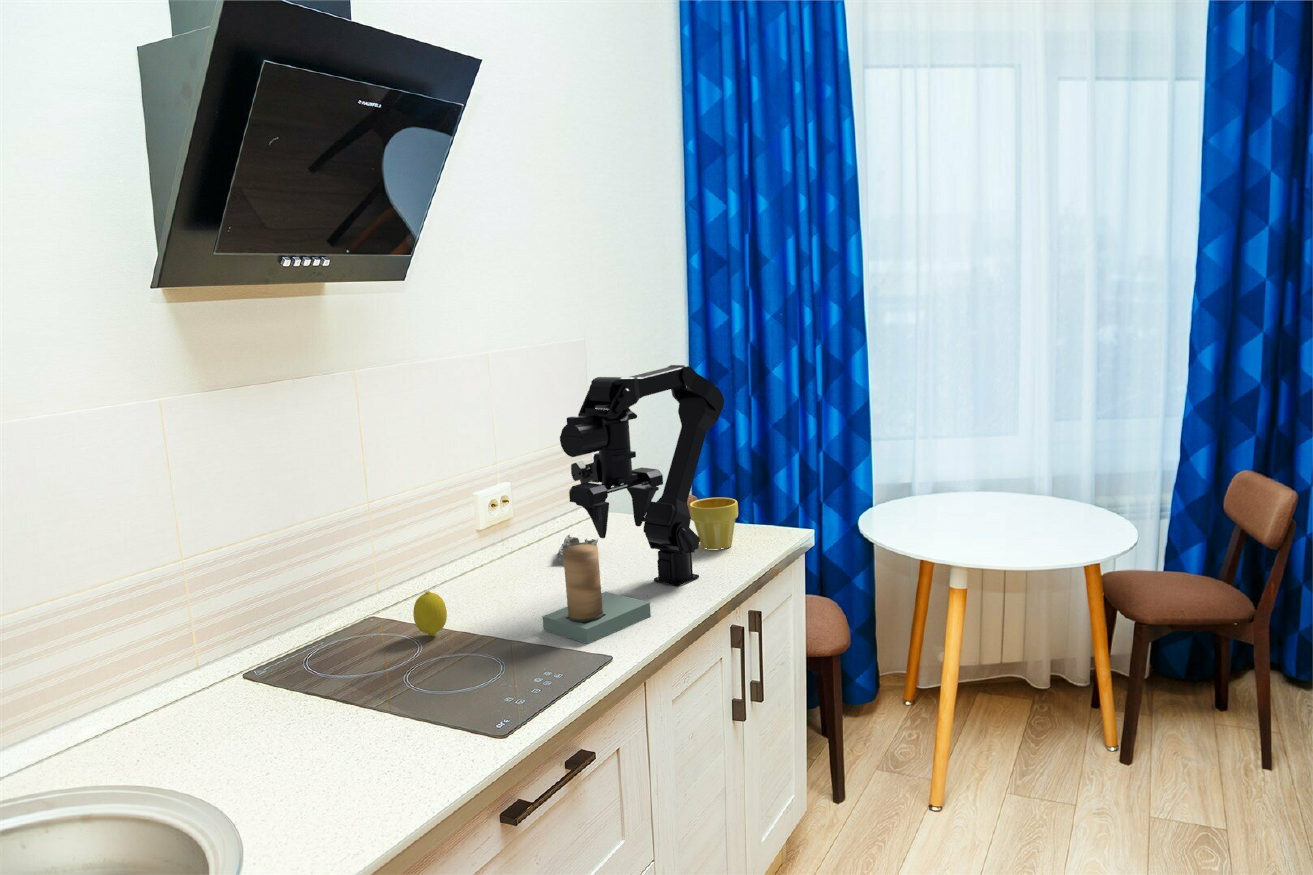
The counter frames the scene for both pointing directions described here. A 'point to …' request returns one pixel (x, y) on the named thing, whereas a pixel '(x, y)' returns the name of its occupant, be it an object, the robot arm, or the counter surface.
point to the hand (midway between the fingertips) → (620, 531)
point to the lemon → (430, 613)
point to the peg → (583, 583)
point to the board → (615, 618)
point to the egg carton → (571, 542)
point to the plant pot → (714, 521)
